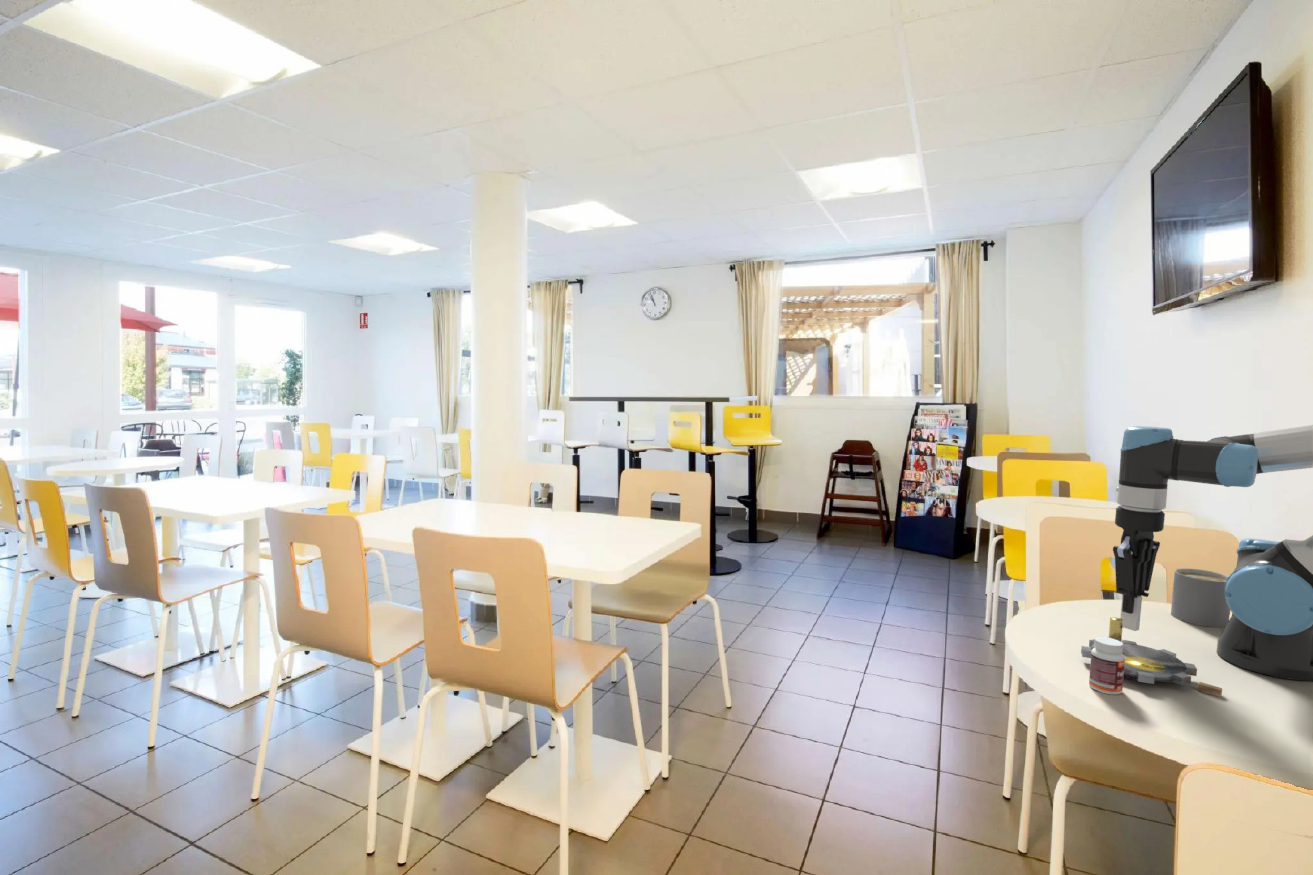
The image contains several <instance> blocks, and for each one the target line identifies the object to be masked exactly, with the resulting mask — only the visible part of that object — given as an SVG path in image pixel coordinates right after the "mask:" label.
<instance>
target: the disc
mask: <svg viewBox="0 0 1313 875" xmlns="http://www.w3.org/2000/svg"><path fill="white" fill-rule="evenodd" d="M1122 636H1123V620H1122V619H1120V617H1115V616H1114V617H1113V616H1112V617H1110V618H1109V627H1108V638H1112V639H1115V640H1118V641H1120V642H1122V643H1123V652H1122V654H1123V655H1124V657H1125V665H1124V675H1127V676H1131V677H1135V678H1137V680H1136V681H1137V682H1139V683H1140V682H1141V683H1145V684H1146V683H1147V684H1152V685H1154V684H1155V682H1154V681H1162V682H1166V683H1167V682H1169V683H1170V682H1172V683H1175V684H1178V685H1179V686H1185V685H1189V684H1190V685H1191V682H1192V676H1193V677H1197V676H1198V675H1197V674H1198V668H1197V667H1196V666H1195V664H1194V663H1188V662H1183V661H1182V660H1181V659H1179V658H1178V657H1177V653H1175V652H1172V651H1170V650H1167V649H1164V648H1163V649H1156V648H1152V647H1148V646H1145V645H1140V644H1138V643H1137V642H1136V641H1131V640H1126V639H1123V638H1122ZM1094 643H1095V638H1094V639H1089V644H1088V646H1084V645H1081V650H1080V653H1081V657H1082V658H1085V659H1086V658H1087V659H1091V651H1092V649H1093V648H1095V647H1094ZM1162 682H1161V683H1162Z"/></svg>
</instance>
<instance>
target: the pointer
mask: <svg viewBox="0 0 1313 875" xmlns="http://www.w3.org/2000/svg"><path fill="white" fill-rule="evenodd" d="M1196 691H1198V692H1202V693H1204V694H1209V695H1211V696H1215V697H1216V698H1217V697H1218V698H1220V697H1222V695H1223V688H1222V687H1219V686H1217V685H1212V684H1209V683H1206V682H1202V681H1198V683H1197V690H1196Z"/></svg>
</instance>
